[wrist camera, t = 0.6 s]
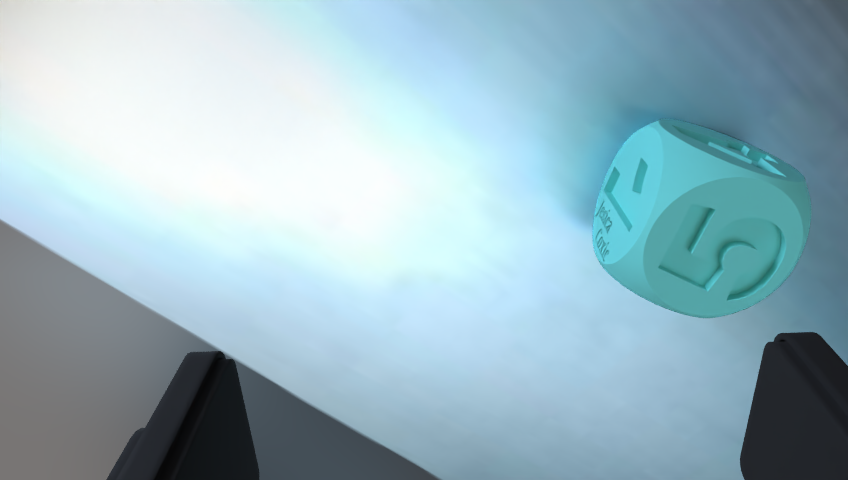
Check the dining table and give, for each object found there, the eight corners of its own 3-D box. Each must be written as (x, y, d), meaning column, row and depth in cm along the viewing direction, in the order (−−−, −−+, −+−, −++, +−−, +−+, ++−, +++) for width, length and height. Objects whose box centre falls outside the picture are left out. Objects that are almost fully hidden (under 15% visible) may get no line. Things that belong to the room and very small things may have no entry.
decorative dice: (636, 105, 37) (685, 151, 30) (764, 145, 38) (841, 199, 31) (580, 228, 40) (611, 296, 33) (698, 262, 41) (754, 335, 34)
